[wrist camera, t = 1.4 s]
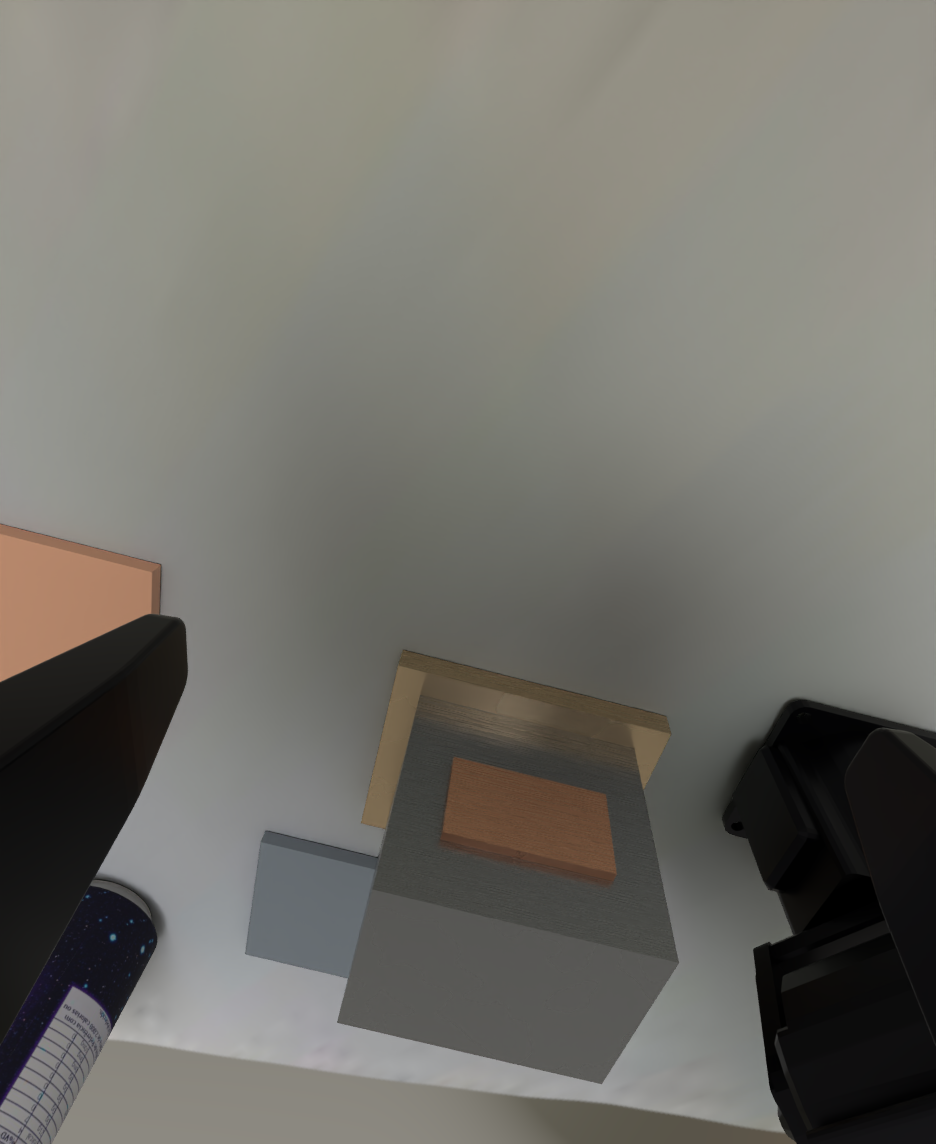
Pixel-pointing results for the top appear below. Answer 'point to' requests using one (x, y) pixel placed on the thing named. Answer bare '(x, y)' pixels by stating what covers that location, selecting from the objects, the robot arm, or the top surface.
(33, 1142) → the beverage can
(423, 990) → the grey unit
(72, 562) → the terracotta pad
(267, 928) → the slate pad
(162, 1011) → the top surface
